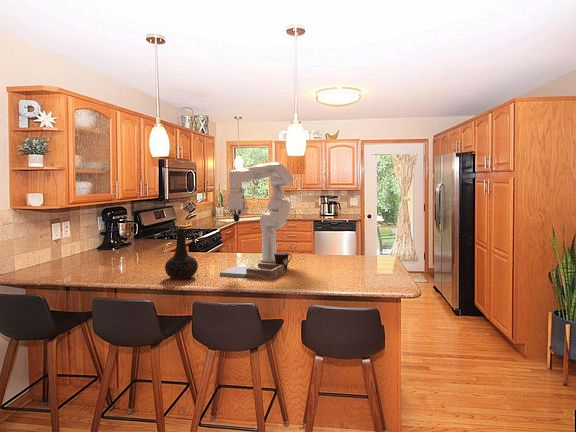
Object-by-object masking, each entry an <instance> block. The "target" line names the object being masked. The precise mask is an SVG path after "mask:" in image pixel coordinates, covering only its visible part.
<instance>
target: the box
mask: <svg viewBox="0 0 576 432" xmlns="http://www.w3.org/2000/svg"><path fill="white" fill-rule="evenodd" d="M257 267H258V268H260V269H251V268H247V269H246V278H248V279H259V280H271V281H272V280H273V281H274V280H275V279H277V278H278V277H280V276H282V275H284V274H285V271H284V265H283V264H276V263H268V262H258V263H257ZM246 278H245V279H246Z"/></svg>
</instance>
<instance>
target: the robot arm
mask: <svg viewBox="0 0 576 432" xmlns="http://www.w3.org/2000/svg"><path fill="white" fill-rule="evenodd" d="M265 178H269V182H270V185H271V189H272V193H271V195H270V199H269V201H268V203H267V207H266V209H267V211H268V212H264V213H262V214H261V215H260V217H259V224H260V228H261V256H262V257H260V258H259V261H260V262H262V263H273V262H274V263H275V255H274V253H277V232H276V229H281V228H283V227H284V226H285V225H286V222H287V220H288V217H289V214H290V212H291V211H290V210H291V202H290V201H289V200H288V199H286V198H285V193H286V192H285V190H284V188H283V186H284V187H287V186H291V185H292V184H293V183H294V175H293V174H292V172H290V170H288V168H287V167H286V166H285V165H284V164H282V163H280V162H269V163H268V162H267V163H264V164H258V165H253V166H251V167H244V168H243V167H242V168H239V169H235V170H233V169H231V170H229V172H228V180H229V181H228V182H229V183H228V184H229V185H228V189H229V190H228V191H229V193H228V195H227V211H228V213H229V212H230V213H232V215H233V222H236V223H237V222H239V221H240V215H241V213H244V212H245V209H246V200H245V193H244V191H245V189H244V188H243V183H250V182H251V181H252V180H261V179H265Z"/></svg>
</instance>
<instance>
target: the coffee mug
mask: <svg viewBox="0 0 576 432" xmlns="http://www.w3.org/2000/svg"><path fill="white" fill-rule="evenodd" d="M276 252H277V251H276ZM274 255H275V262H274V264H283V265H284V272H286V271H287V270H288V264H289V263H290V262H291V260H292V257H293V256H292V254H290V253H289V252H288V251H280V252H279V251H278V252H277V253H274ZM289 256H290V259H289Z"/></svg>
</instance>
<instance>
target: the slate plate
mask: <svg viewBox="0 0 576 432" xmlns="http://www.w3.org/2000/svg"><path fill="white" fill-rule="evenodd" d="M249 267H250V266H239V265H237V266H236V265H235V266H231V267H229V268H227V269H225V270H222V271H220V272H219V277H230V278H231V277H232V278H243V279H244V278H245V279H246V269H247V268H249Z"/></svg>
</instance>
